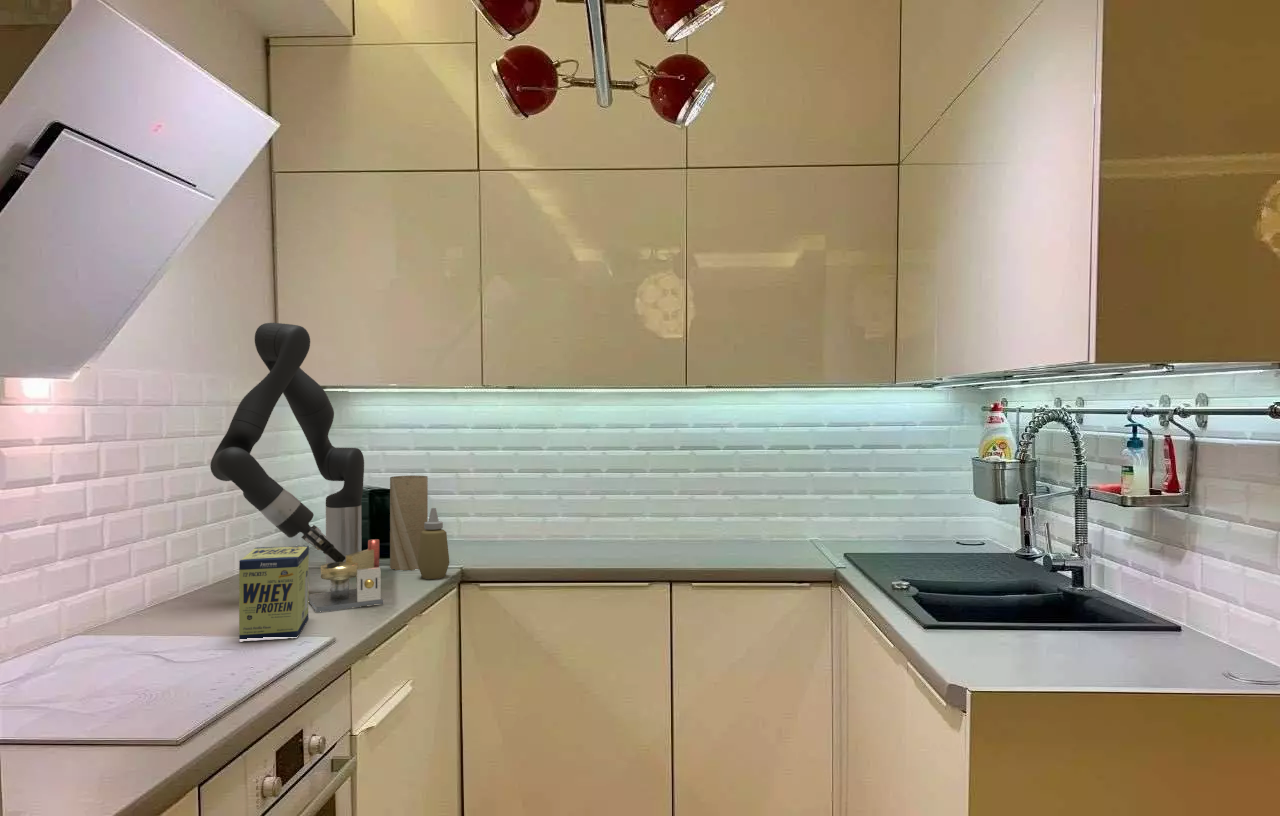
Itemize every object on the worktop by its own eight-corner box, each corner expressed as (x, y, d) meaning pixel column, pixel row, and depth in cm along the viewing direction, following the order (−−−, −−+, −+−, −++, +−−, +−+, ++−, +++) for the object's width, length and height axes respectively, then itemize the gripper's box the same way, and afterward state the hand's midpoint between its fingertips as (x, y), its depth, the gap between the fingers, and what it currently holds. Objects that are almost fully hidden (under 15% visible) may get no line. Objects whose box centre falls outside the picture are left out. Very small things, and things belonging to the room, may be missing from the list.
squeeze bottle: (423, 582, 201) (423, 511, 201) (413, 576, 208) (413, 507, 208) (454, 578, 206) (454, 508, 206) (443, 572, 212) (443, 505, 212)
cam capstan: (362, 565, 195) (362, 538, 195) (391, 566, 193) (391, 539, 193) (313, 581, 177) (312, 551, 177) (344, 582, 175) (344, 553, 175)
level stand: (306, 599, 183) (306, 563, 183) (369, 592, 190) (369, 558, 190) (317, 614, 170) (317, 575, 170) (384, 605, 177) (384, 568, 177)
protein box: (238, 643, 149) (238, 560, 149) (254, 622, 164) (254, 546, 164) (298, 639, 151) (298, 557, 151) (309, 618, 166) (309, 544, 166)
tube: (408, 572, 214) (408, 479, 214) (382, 568, 219) (382, 477, 219) (435, 565, 222) (435, 476, 222) (409, 562, 227) (409, 475, 227)
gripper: (303, 503, 179) (359, 553, 186) (295, 498, 191) (348, 545, 197) (277, 528, 177) (335, 578, 183) (270, 521, 188) (325, 568, 194)
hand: (342, 560), depth 190 cm, fingers closed
